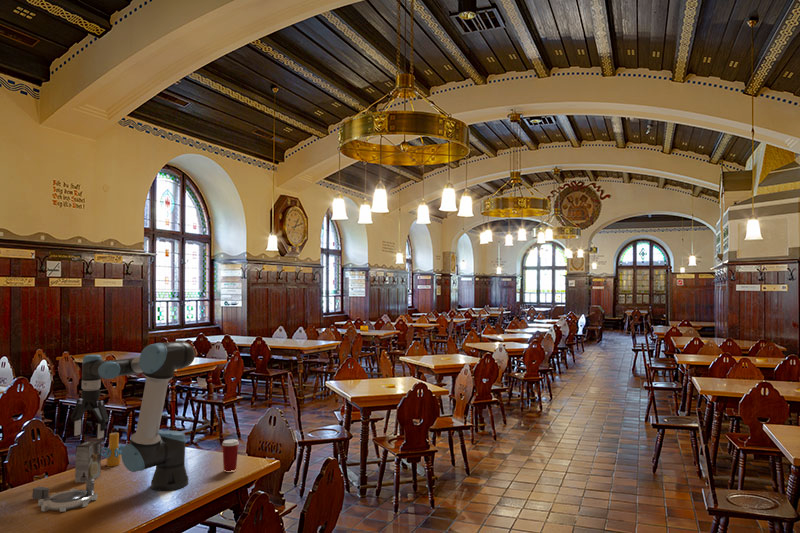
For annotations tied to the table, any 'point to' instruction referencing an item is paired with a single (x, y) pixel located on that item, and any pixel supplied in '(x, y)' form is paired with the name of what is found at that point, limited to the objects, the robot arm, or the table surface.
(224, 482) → the table surface
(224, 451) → the paper cup
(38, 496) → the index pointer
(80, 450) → the coffee box
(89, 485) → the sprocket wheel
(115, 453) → the yellow and blue toy
